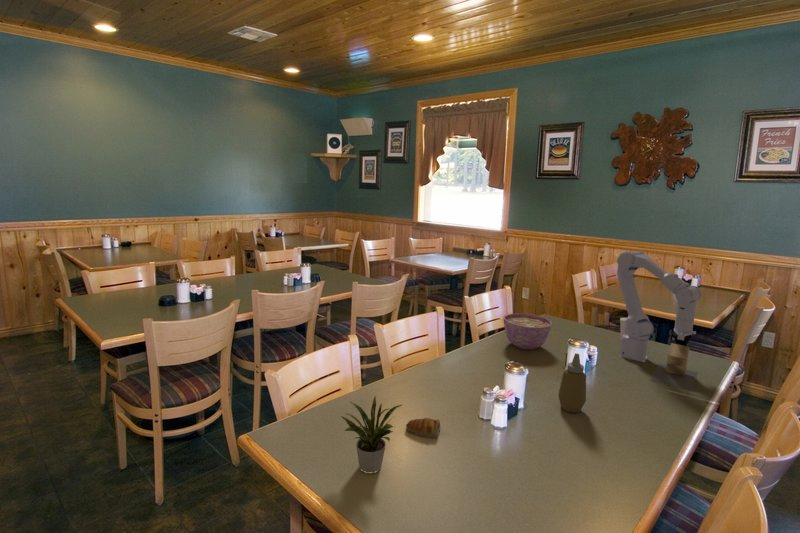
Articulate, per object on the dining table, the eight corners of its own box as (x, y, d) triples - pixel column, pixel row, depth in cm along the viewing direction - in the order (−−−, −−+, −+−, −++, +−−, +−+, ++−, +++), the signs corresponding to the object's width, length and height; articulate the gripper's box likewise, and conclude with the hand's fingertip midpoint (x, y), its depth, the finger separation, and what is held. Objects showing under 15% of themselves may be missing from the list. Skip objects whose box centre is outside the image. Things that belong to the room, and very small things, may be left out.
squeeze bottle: (585, 406, 143) (592, 352, 140) (583, 417, 136) (590, 361, 133) (558, 400, 147) (564, 347, 143) (555, 411, 140) (561, 355, 136)
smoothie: (635, 342, 205) (639, 312, 202) (621, 341, 205) (625, 312, 202) (628, 337, 211) (632, 308, 209) (614, 337, 211) (618, 308, 209)
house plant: (384, 442, 119) (386, 384, 116) (414, 471, 108) (417, 407, 105) (334, 458, 112) (335, 396, 109) (360, 491, 100) (362, 423, 97)
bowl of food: (491, 344, 195) (494, 318, 193) (517, 335, 209) (520, 310, 207) (533, 358, 181) (535, 331, 179) (558, 347, 194) (561, 321, 192)
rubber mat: (650, 381, 164) (650, 380, 164) (658, 364, 180) (658, 363, 180) (692, 392, 156) (692, 391, 156) (697, 373, 173) (697, 372, 173)
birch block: (666, 371, 172) (667, 354, 166) (669, 359, 175) (671, 342, 169) (684, 376, 168) (687, 359, 163) (687, 364, 172) (689, 346, 166)
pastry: (404, 436, 123) (404, 423, 122) (408, 423, 130) (408, 411, 129) (438, 440, 122) (439, 427, 121) (440, 427, 128) (441, 415, 127)
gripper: (696, 325, 160) (690, 361, 162) (699, 316, 172) (694, 350, 174) (673, 321, 164) (668, 356, 166) (677, 313, 176) (672, 346, 178)
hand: (679, 353), depth 170 cm, fingers closed, pressing on birch block
